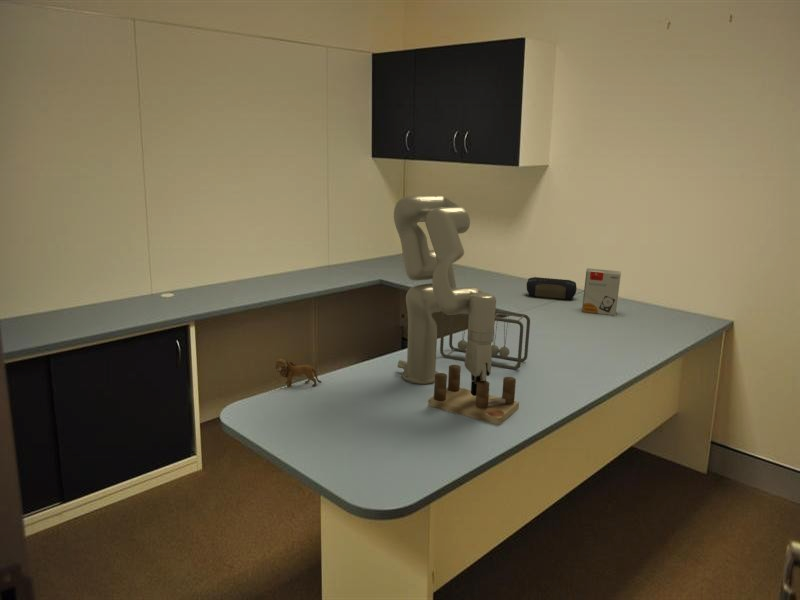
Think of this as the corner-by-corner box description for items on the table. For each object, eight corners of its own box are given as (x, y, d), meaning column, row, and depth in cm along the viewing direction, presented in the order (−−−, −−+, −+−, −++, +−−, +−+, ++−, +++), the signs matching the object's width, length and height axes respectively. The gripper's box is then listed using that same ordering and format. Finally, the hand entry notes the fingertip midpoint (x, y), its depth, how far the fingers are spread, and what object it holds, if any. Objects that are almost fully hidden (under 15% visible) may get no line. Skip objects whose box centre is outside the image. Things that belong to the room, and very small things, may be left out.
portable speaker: (524, 297, 331) (526, 278, 329) (526, 293, 340) (528, 274, 338) (575, 302, 324) (576, 282, 322) (575, 297, 334) (577, 278, 331)
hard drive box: (581, 312, 305) (585, 270, 300) (582, 308, 312) (586, 267, 307) (616, 315, 300) (620, 273, 296) (615, 311, 307) (620, 270, 303)
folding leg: (509, 398, 194) (511, 376, 192) (516, 402, 190) (518, 380, 189) (473, 404, 188) (474, 381, 187) (479, 408, 185) (481, 385, 184)
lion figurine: (275, 389, 202) (274, 362, 200) (274, 383, 207) (274, 356, 205) (322, 386, 205) (322, 359, 203) (320, 380, 210) (320, 354, 208)
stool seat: (428, 405, 193) (429, 375, 190) (449, 391, 204) (451, 362, 202) (499, 424, 181) (502, 393, 179) (518, 408, 193) (520, 378, 190)
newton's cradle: (439, 357, 237) (441, 310, 232) (449, 349, 246) (451, 303, 242) (519, 371, 224) (523, 321, 220) (527, 362, 234) (530, 314, 229)
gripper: (459, 328, 193) (456, 385, 198) (477, 344, 179) (473, 405, 184) (483, 327, 195) (479, 384, 200) (502, 342, 181) (498, 403, 186)
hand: (476, 394), depth 192 cm, fingers closed
